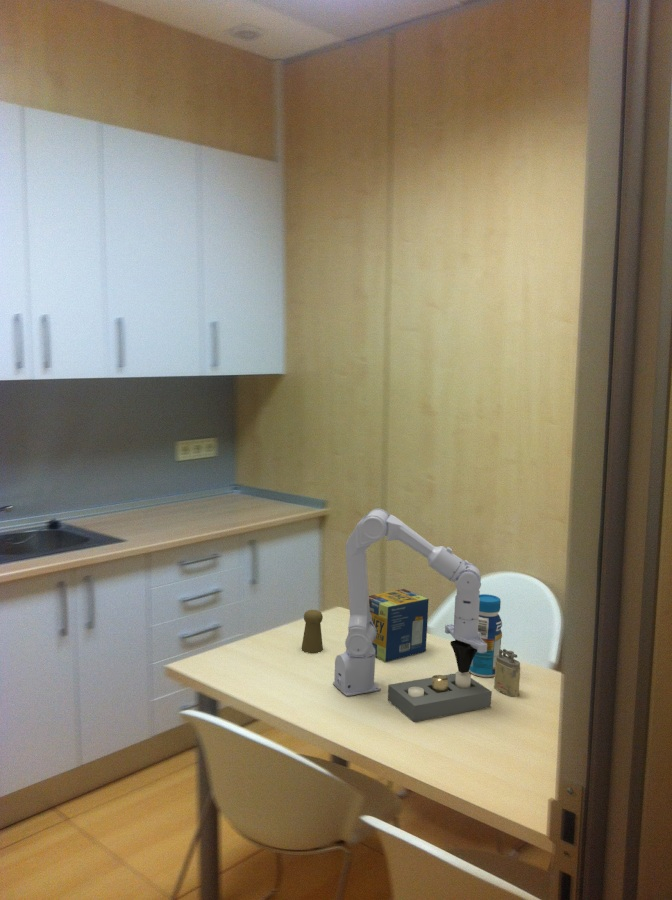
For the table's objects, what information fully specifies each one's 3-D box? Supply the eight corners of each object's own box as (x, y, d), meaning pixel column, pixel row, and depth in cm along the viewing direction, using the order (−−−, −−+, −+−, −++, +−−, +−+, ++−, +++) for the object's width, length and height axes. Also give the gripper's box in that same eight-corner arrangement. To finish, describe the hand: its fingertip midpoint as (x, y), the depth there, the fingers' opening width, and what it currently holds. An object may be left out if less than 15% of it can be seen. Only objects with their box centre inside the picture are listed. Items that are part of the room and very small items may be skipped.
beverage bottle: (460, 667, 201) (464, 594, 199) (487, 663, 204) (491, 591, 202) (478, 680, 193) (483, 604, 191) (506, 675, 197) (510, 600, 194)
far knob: (460, 695, 179) (461, 677, 179) (451, 689, 182) (452, 672, 182) (473, 693, 181) (474, 675, 180) (464, 687, 184) (465, 670, 183)
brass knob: (437, 699, 176) (438, 681, 176) (428, 693, 180) (429, 676, 179) (450, 697, 178) (451, 679, 177) (441, 691, 181) (442, 673, 181)
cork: (322, 653, 207) (323, 614, 206) (300, 653, 208) (301, 614, 206) (323, 645, 213) (324, 607, 212) (301, 645, 214) (303, 607, 212)
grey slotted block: (413, 722, 169) (414, 705, 169) (387, 700, 180) (388, 684, 179) (490, 707, 178) (491, 691, 178) (461, 686, 189) (462, 672, 188)
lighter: (521, 695, 185) (524, 655, 184) (510, 698, 183) (513, 658, 182) (500, 684, 191) (503, 646, 190) (489, 687, 189) (492, 648, 188)
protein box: (360, 650, 211) (362, 596, 209) (402, 640, 220) (404, 588, 218) (385, 663, 203) (387, 606, 201) (427, 651, 212) (429, 597, 210)
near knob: (412, 712, 174) (413, 694, 173) (404, 705, 177) (405, 687, 177) (426, 709, 175) (426, 691, 175) (417, 703, 179) (418, 685, 178)
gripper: (499, 624, 175) (495, 680, 176) (462, 605, 188) (460, 658, 189) (473, 627, 172) (470, 685, 173) (438, 608, 185) (436, 662, 186)
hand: (463, 671), depth 181 cm, fingers closed
